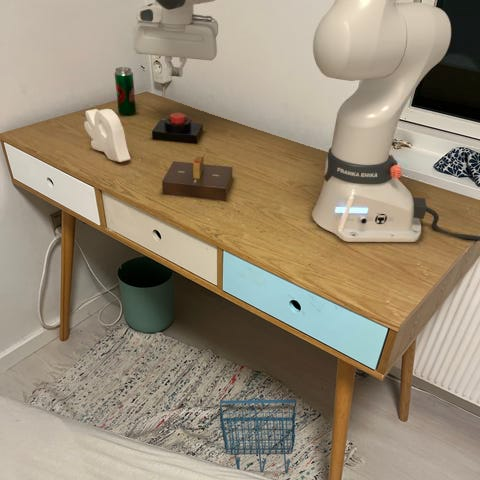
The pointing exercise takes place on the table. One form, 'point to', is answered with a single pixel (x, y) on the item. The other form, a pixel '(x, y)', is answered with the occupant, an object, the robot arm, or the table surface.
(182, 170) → the lock plate
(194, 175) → the lock turn
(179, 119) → the lock button
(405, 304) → the table surface
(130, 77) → the soda can
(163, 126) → the button base
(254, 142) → the table surface
